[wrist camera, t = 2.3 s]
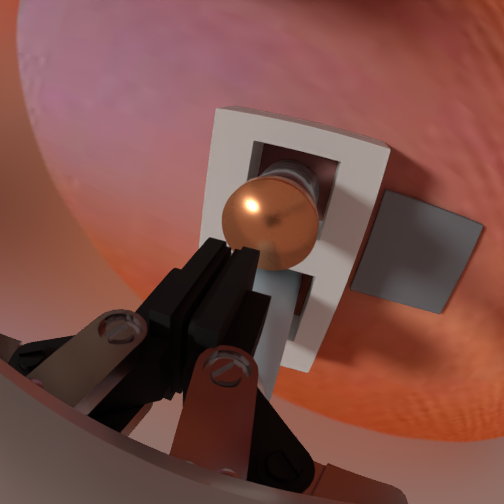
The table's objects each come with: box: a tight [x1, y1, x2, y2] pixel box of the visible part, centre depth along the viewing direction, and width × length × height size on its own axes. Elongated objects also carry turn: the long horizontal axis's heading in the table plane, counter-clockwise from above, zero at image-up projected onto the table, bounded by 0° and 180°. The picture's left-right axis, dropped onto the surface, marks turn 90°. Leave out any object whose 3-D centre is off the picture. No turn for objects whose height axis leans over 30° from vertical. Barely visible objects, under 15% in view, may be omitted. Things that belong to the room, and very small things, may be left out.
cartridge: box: [252, 268, 302, 401], centre depth 20 cm, size 5×5×12 cm
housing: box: [199, 106, 391, 373], centre depth 22 cm, size 10×18×3 cm, turn 169°
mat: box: [350, 189, 483, 314], centre depth 21 cm, size 8×8×1 cm
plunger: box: [222, 159, 320, 271], centre depth 16 cm, size 4×4×6 cm
